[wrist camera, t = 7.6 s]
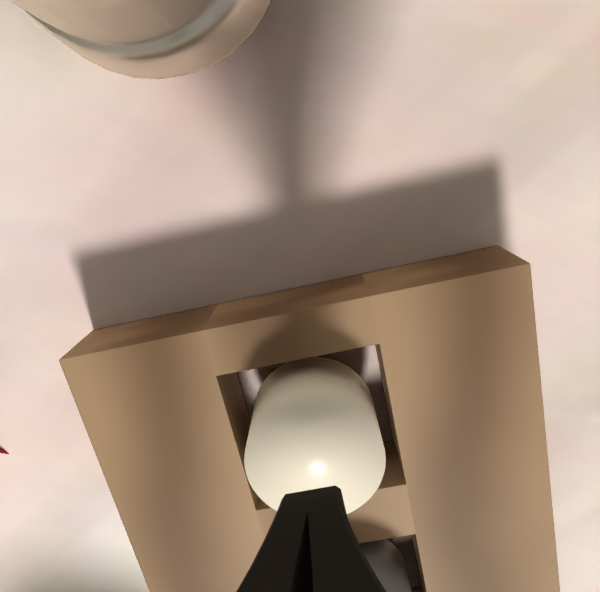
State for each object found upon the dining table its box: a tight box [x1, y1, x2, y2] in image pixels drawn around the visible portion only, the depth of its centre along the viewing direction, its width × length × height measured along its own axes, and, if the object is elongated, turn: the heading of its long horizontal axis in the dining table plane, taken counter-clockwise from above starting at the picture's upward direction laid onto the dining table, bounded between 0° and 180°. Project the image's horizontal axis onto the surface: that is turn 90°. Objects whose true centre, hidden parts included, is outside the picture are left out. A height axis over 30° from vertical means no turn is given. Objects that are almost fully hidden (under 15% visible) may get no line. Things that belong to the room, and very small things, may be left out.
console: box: [59, 246, 560, 592], centre depth 19 cm, size 14×22×2 cm, turn 13°
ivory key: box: [244, 357, 386, 514], centre depth 15 cm, size 4×4×3 cm
